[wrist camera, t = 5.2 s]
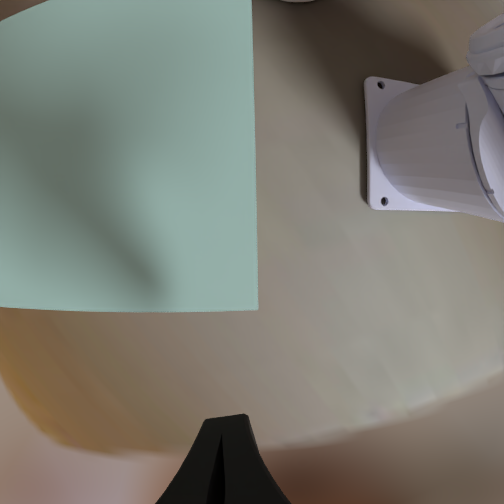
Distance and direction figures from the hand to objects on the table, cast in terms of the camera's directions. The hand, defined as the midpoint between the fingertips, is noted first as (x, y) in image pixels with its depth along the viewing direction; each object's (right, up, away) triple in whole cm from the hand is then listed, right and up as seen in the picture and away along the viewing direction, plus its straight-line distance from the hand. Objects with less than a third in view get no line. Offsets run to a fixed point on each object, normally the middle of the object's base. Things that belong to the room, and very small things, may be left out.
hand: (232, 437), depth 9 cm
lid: (-6, +11, +3) cm, 13 cm away
